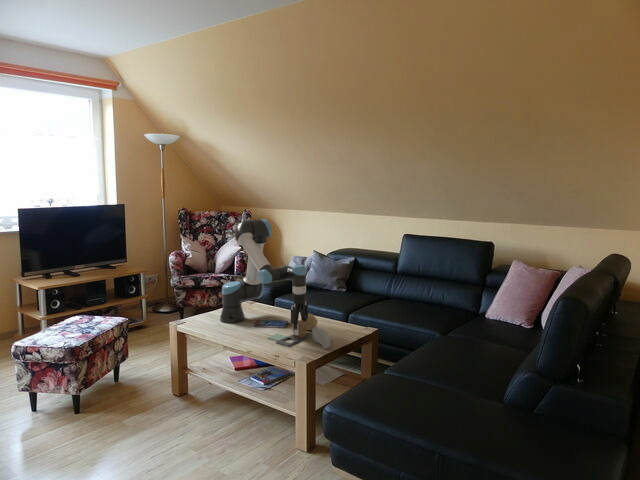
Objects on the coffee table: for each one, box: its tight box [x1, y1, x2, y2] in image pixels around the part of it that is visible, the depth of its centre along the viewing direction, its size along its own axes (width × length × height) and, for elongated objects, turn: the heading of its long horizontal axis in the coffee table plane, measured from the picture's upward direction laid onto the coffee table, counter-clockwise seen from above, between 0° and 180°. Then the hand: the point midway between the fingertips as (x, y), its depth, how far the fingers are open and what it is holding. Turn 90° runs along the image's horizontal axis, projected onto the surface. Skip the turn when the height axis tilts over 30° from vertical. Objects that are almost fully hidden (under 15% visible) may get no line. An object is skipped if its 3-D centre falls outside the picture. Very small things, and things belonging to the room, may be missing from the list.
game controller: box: [311, 326, 332, 350], centre depth 258 cm, size 20×2×8 cm, turn 26°
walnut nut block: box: [292, 319, 307, 338], centre depth 270 cm, size 5×5×9 cm
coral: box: [300, 312, 318, 331], centre depth 284 cm, size 10×10×10 cm
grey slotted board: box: [275, 331, 313, 348], centre depth 267 cm, size 9×22×1 cm, turn 143°
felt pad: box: [266, 333, 289, 342], centre depth 269 cm, size 8×8×1 cm
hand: (299, 333), depth 270 cm, fingers closed on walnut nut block, 5 cm apart
